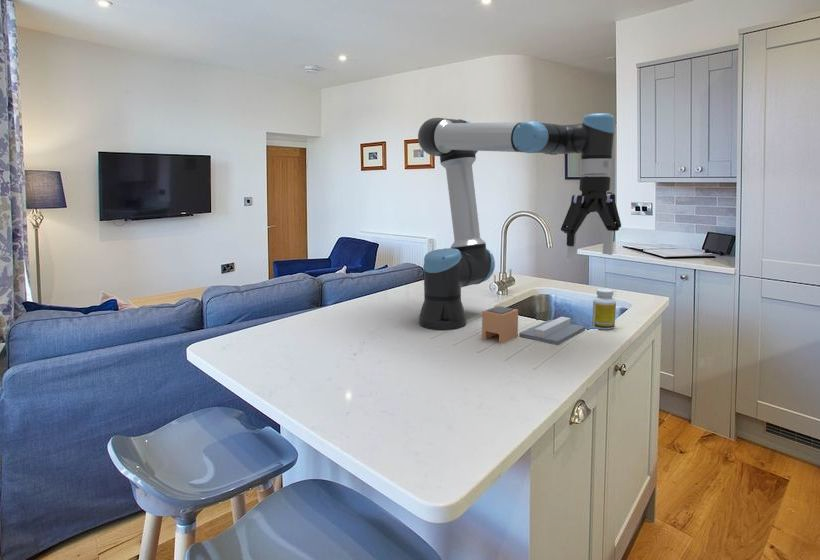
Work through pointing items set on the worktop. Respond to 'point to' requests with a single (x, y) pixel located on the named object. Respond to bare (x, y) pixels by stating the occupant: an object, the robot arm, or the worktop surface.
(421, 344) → the worktop surface
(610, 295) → the pill bottle
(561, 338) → the rail board
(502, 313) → the block
